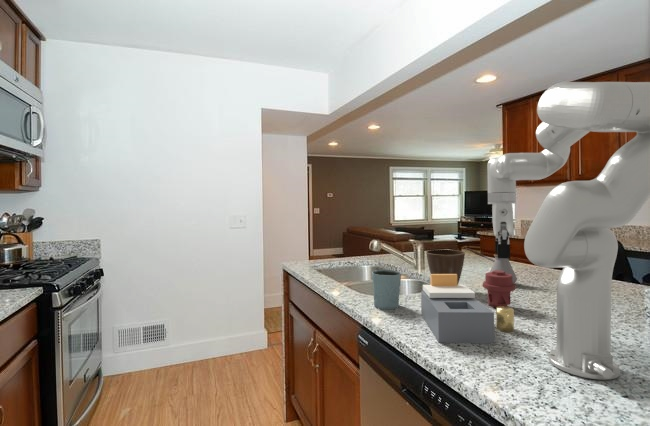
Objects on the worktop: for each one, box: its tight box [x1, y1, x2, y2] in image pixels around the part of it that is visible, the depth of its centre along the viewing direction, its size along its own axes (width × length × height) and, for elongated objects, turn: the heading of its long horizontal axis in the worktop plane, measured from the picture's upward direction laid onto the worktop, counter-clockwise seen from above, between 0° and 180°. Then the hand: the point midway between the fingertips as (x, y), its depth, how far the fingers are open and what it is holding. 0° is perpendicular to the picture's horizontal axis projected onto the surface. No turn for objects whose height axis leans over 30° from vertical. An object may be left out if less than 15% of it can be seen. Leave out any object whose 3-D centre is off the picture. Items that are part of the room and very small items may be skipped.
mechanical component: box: [482, 270, 516, 308], centre depth 119 cm, size 12×10×10 cm
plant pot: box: [425, 248, 466, 285], centre depth 141 cm, size 15×15×16 cm
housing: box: [420, 290, 495, 344], centre depth 100 cm, size 22×14×8 cm, turn 176°
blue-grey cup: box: [371, 269, 402, 311], centre depth 123 cm, size 10×10×12 cm
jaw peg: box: [495, 306, 515, 333], centre depth 98 cm, size 4×4×6 cm
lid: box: [422, 273, 476, 298], centre depth 106 cm, size 10×13×5 cm
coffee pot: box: [464, 247, 518, 284], centre depth 154 cm, size 21×12×15 cm, turn 50°
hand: (502, 255), depth 104 cm, fingers open, 9 cm apart
